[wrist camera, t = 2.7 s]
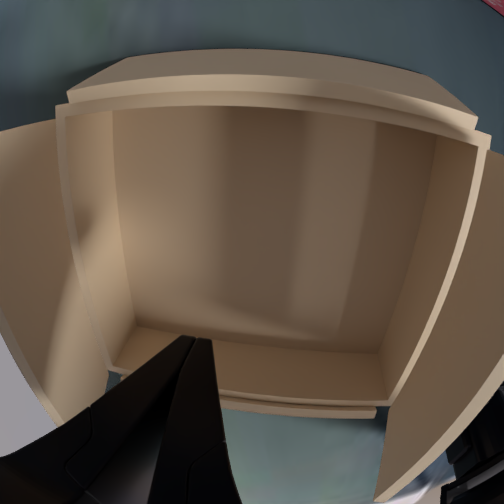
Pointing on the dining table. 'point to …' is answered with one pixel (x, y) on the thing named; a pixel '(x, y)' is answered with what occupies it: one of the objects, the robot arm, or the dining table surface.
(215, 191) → the carton
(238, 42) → the dining table surface
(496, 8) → the ink box
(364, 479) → the dining table surface
